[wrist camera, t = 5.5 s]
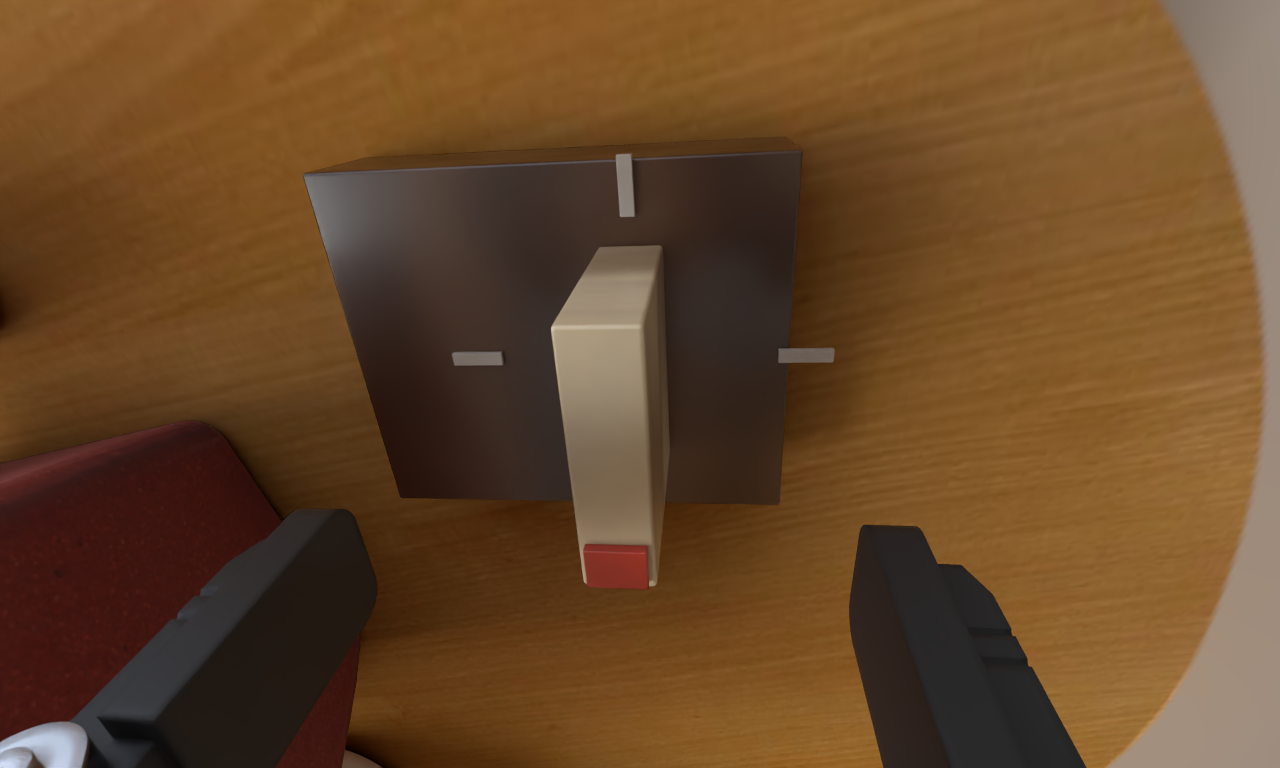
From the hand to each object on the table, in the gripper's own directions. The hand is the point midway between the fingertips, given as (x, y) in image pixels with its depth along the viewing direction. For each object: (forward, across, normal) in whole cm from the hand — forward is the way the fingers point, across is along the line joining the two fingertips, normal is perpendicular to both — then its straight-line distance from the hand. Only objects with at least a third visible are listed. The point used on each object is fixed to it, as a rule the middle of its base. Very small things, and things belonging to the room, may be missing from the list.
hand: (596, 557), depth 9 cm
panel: (+10, +2, 0) cm, 11 cm away
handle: (+7, 0, 0) cm, 7 cm away
